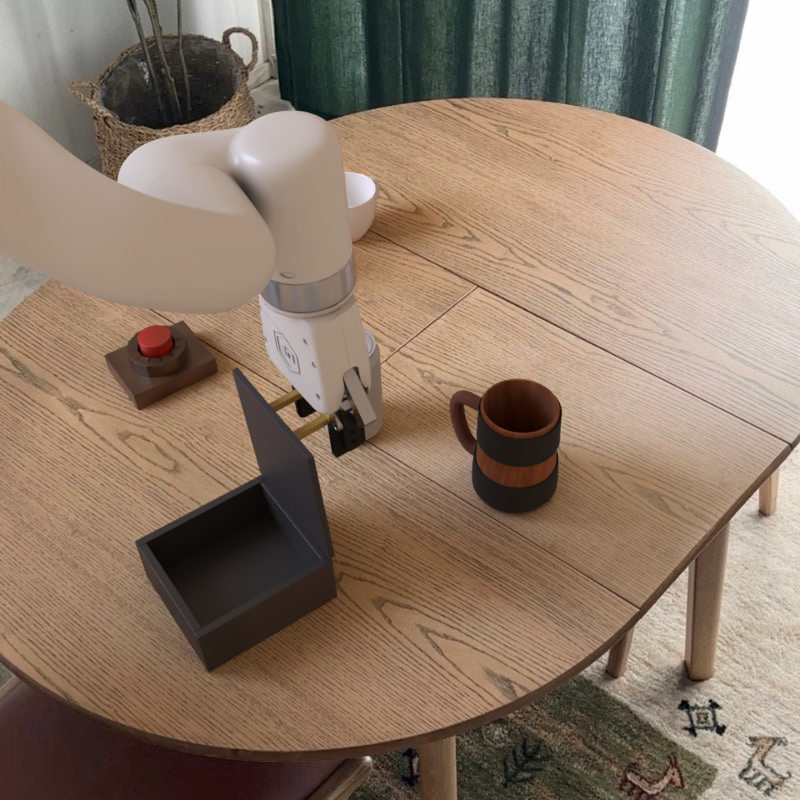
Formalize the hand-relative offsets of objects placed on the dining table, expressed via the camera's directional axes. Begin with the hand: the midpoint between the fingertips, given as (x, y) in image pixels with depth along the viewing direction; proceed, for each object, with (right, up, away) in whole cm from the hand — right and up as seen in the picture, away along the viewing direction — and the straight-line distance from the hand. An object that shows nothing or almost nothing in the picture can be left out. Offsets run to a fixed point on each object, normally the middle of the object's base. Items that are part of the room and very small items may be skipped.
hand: (331, 427), depth 94 cm
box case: (-9, -15, +7) cm, 19 cm away
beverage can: (+1, 0, +21) cm, 21 cm away
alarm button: (-21, +8, +24) cm, 33 cm away
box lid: (-4, -3, -1) cm, 6 cm away
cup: (0, +25, +45) cm, 51 cm away
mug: (+16, -6, +15) cm, 23 cm away
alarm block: (-21, +6, +27) cm, 35 cm away
